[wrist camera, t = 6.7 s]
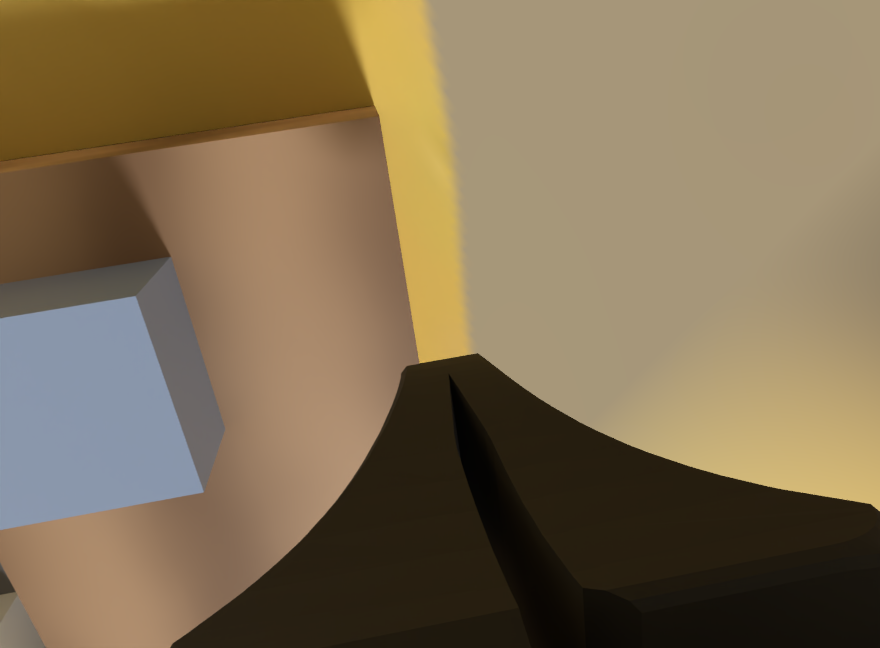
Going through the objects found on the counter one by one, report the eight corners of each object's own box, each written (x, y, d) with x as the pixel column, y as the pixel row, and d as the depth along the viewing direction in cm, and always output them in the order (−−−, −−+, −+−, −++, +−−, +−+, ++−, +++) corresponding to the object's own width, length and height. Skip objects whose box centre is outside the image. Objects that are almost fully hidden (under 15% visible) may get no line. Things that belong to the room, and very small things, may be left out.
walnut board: (374, 105, 16) (379, 115, 13) (465, 656, 24) (479, 733, 21) (-97, 176, 15) (-194, 202, 13) (158, 719, 23) (132, 808, 21)
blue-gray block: (170, 256, 14) (135, 296, 12) (225, 428, 16) (203, 492, 14) (-41, 290, 14) (-120, 337, 11) (39, 462, 16) (-15, 532, 13)
